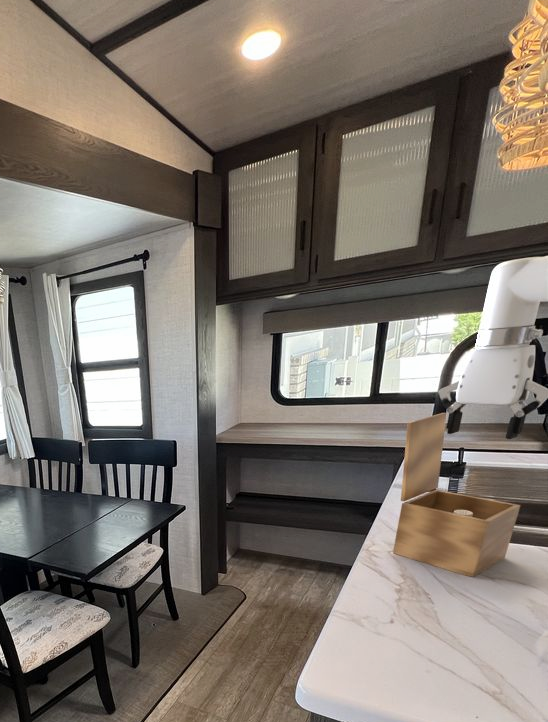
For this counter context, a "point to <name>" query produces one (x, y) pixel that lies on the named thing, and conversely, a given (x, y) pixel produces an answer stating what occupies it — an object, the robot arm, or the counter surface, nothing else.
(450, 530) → the chest
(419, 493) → the lid
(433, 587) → the counter surface
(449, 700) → the counter surface
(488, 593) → the counter surface
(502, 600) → the counter surface
